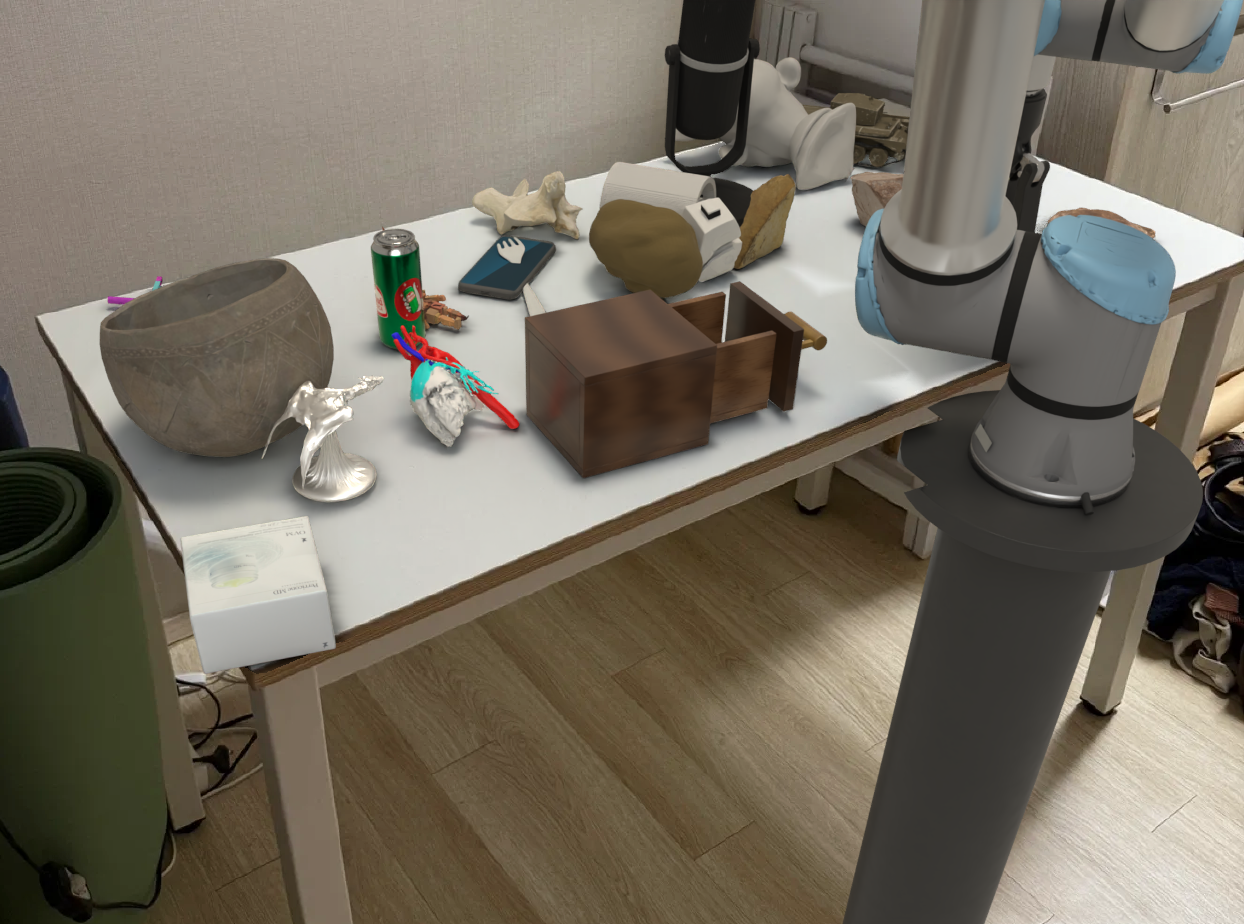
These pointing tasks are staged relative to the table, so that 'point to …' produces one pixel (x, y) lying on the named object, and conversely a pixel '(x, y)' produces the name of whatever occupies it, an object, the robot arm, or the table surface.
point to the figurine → (328, 443)
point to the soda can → (397, 284)
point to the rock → (766, 219)
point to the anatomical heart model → (445, 389)
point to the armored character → (440, 311)
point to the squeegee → (124, 300)
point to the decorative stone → (646, 247)
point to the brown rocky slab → (1103, 214)
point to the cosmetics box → (256, 594)
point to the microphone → (712, 87)
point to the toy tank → (873, 129)
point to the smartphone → (506, 269)
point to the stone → (873, 192)
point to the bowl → (218, 356)
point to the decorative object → (531, 206)
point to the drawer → (750, 350)
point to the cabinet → (619, 381)
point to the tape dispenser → (714, 236)
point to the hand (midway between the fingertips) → (963, 293)
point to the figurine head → (792, 129)
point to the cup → (656, 186)
